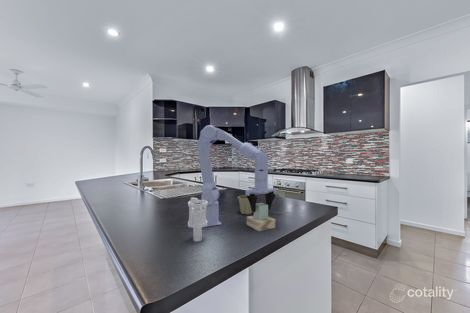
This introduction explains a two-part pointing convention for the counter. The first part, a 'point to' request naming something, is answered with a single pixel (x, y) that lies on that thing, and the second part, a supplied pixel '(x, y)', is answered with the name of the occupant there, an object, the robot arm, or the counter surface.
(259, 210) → the sage block
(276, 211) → the counter surface
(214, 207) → the robot arm
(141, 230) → the counter surface
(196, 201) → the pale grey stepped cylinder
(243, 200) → the flower pot
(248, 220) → the beech base
